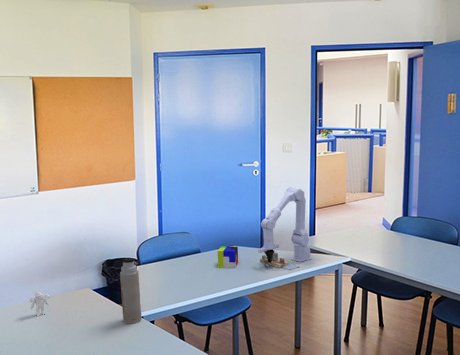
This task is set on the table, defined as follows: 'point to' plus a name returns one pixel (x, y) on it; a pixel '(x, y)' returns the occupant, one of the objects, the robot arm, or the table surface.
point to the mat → (290, 267)
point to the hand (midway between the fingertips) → (269, 262)
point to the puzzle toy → (227, 257)
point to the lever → (265, 259)
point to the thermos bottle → (130, 292)
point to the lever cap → (275, 256)
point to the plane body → (277, 263)
